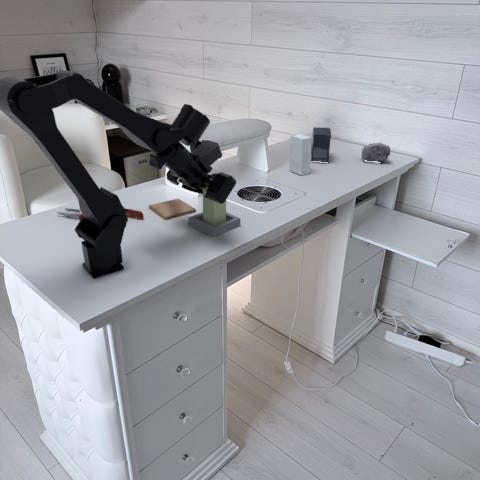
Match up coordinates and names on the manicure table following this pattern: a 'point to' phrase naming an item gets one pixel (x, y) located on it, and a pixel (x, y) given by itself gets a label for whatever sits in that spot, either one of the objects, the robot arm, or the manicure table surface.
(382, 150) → the pumice stone
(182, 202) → the walnut pad
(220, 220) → the olive block
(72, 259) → the manicure table surface
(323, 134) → the small box
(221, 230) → the gray square frame
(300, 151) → the skincare box
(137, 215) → the pliers
